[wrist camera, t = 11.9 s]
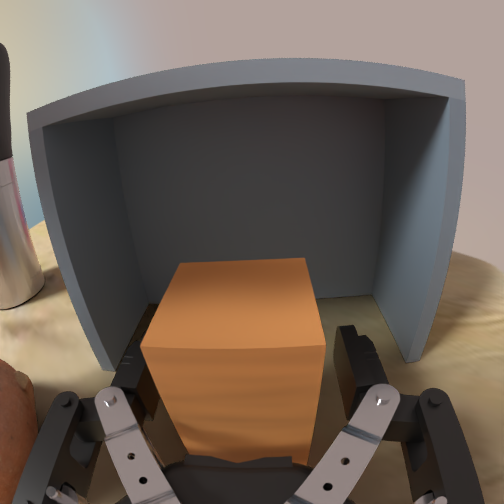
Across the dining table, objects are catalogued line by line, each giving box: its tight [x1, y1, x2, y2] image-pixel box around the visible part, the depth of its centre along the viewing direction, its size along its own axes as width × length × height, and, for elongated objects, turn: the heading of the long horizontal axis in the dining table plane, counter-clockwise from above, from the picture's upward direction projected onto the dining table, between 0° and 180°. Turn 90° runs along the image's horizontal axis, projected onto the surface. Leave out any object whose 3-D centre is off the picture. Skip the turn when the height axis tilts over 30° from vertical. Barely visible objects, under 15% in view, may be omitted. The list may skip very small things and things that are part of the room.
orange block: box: [140, 258, 326, 466], centre depth 12 cm, size 5×5×11 cm
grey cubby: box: [27, 58, 466, 371], centre depth 21 cm, size 11×24×19 cm, turn 88°
